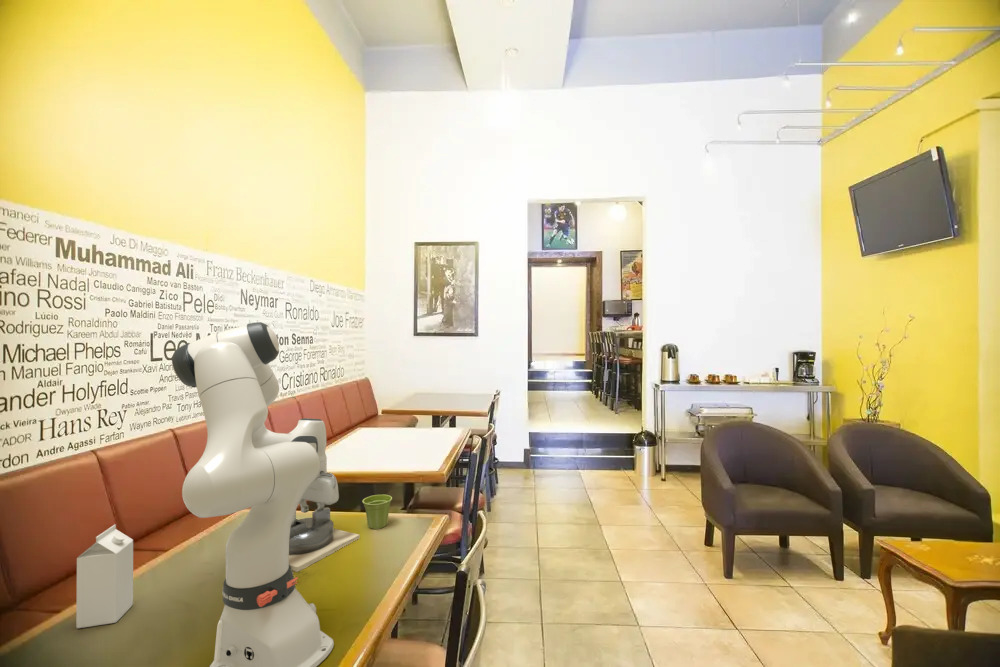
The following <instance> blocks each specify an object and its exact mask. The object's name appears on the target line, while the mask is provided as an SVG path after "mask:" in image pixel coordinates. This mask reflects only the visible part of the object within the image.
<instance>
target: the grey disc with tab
mask: <svg viewBox="0 0 1000 667" xmlns="http://www.w3.org/2000/svg"><path fill="white" fill-rule="evenodd" d="M316 510H317V509H316ZM333 528H334V521H333V520H332V519H331V508H330V507H328V506H327V507H324V508H323V509H320V510H317V511H315V510H314V511H312V516H311V517H305V518H299V519H297V518H296V526H294V527H291V528H290V538H289V554H301V553H306V552H311V551H314V550H317V549H320V548H322V547H324V546H326V545H327V544H329V543H330V542H331V541H332V540H333Z"/></svg>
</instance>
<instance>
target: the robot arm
mask: <svg viewBox="0 0 1000 667" xmlns="http://www.w3.org/2000/svg"><path fill="white" fill-rule="evenodd" d="M279 349H280V342H279V339H278V337H277V335H276V333H275V332H274V331H273V329H272V328H270V327H269V325H268V324H267V323H264V322H260V321H259V322H251V323H247V324H246V325H242V326H238V327H234V328H230V329H226V330H223V331H220V332H219V331H217V332H214V333H212V334H209V335H206V336H203V337H202V338H199V339H196V340H195V341H192V342H191V343H190V342H187V343H185V344H183V345H181V346H180V347H177V349H175V350H174V352H173V354H172V355H171V363H172V370H173V372H174V373H175V376H176V377H177V378H178V380H180V382H181V383H182V384H183V385H185V386H187V387H191V388H196V389H197V393H198V398H199V400H200V401H199V402H200V403H201V407H202V411H203V415H204V420H205V424H206V430H207V439H206V444H205V449H204V451H203V454H202V455H201V457H200V458H199V460H198V461H197V462H196V463H195V464H194V466H192V467H191V468H190V470H189V471H188V472H187V474H186V476H185V478H184V481H183V484H182V487H181V488H182V489H181V496H182V499H183V500H182V501H183V503H184V504H185V507H186V508H187V510H188V511H189V512H190V513H192V514H193V515H194V516H196V517H198V518H200V519H206V518H213V517H214V518H215V517H221V516H228V515H232V514H236V513H238V512H241V511H244V510H246V509H250V510H249V512H248V513H247V515H246V517H244V519H243V520H242V521H241V522H240V523H239V524H237V526H236V527H235V528H234V529H233V530H232V531H231V532H230V534H229V536H228V538H227V541H226V543H225V544H226V545H225V578H224V580H223V582H222V584H223V587H222V592H221V593H222V602H223V604H224V606H223V609H222V612H221V615H220V618H219V620H218V623H217V625H216V626H217V627H216V634H215V636H216V637H215V647H214V655H213V656H214V657H213V661H212V662H211V664H210V665H209V667H319V665H320V664H321V663H323V661H324V660H325V659H326V658H327V657H328V656H329V655H330V654H331V652H332V650H333V648H334V645H335V643H334V639H333V638H332V637H331V636H329V635H328V634H326V633H325V632H324V631H322V630H321V625H320V620H319V617H318V614H317V607H316V605H315V604H314V603H313V602H311V603H308V602H307V601H306V600H305V598H304V597H303V596H302V594H301V592H299V591H298V590H297V588H296V584H298V583H299V582H298V581H297V580H298V579H299V578H298V576H296V577H294V572H293V570H292V569H291V566H290V564H289V538H290V528H291V524H292V520H293V517H294V514H295V511H296V512H297V508H298V506H300V512H301V513H304V514H306V513H309V510H310V505H308V504H307V501H309V502H313V503H316V506H317V508H316V509H314V511H317V510H320V509H323V508H325V506H330V505H334V504H335V503H337V502H338V501H339V498H340V494H339V485H338V480H337V477H336V476H335V475H334V473H332V472H327V471H328V470H327V467H328V466H327V458H328V457H327V454H326V449H327V429H326V424H325V422H324V420H323V419H320V418H309V417H308V418H307V417H305V418H299V420H298V421H297V425H296V427H294V428H293V429H292V430H291V431H290V432H288V433H283V432H282V433H281V432H274V431H271V430H269V429H268V428H267V427H266V424H265V423H266V420H267V418H268V415H269V408H268V407H269V406H270V405H271V404H272V403H274V402H275V400H276V399H277V397H278V395H279V391H280V386H279V381H278V379H277V376H276V374H275V372H274V371H273V369H272V367H271V366H270V363H271V362H273V361H275V360H276V359H277V357H278V355H279V353H280V350H279Z"/></svg>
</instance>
